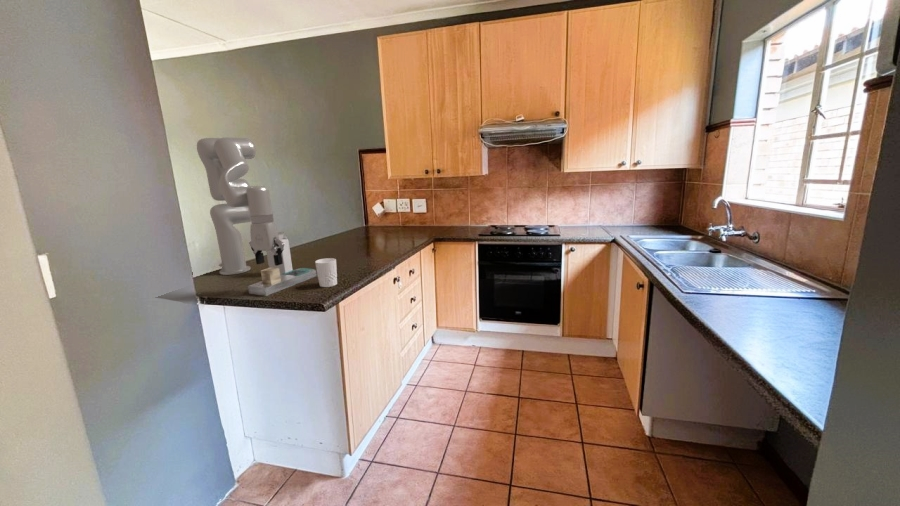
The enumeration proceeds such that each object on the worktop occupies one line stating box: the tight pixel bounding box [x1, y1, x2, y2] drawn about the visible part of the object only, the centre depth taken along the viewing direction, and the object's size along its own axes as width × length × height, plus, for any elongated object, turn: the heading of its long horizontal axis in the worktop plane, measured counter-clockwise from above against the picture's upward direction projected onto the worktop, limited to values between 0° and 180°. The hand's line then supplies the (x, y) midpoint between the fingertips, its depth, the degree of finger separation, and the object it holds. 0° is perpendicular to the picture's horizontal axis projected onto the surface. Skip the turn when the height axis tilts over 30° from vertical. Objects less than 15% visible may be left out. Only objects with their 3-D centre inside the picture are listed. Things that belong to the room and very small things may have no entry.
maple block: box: [260, 267, 281, 285], centre depth 141 cm, size 5×5×8 cm
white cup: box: [314, 257, 338, 288], centre depth 144 cm, size 8×8×10 cm
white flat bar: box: [247, 267, 318, 297], centre depth 147 cm, size 26×9×3 cm, turn 157°
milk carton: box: [265, 231, 294, 275], centre depth 162 cm, size 7×7×19 cm
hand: (269, 264), depth 139 cm, fingers open, 9 cm apart
